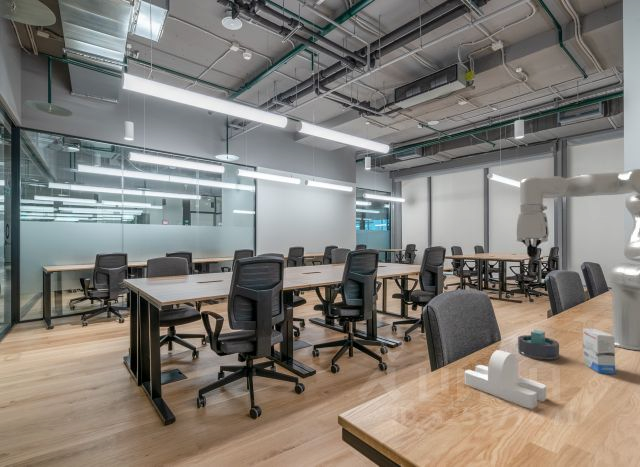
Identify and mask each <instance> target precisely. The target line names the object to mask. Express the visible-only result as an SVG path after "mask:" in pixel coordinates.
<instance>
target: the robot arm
mask: <svg viewBox="0 0 640 467" xmlns="http://www.w3.org/2000/svg"><path fill="white" fill-rule="evenodd" d="M519 191H520V195H519V196H520V201H519V202H520V213H518V217H517V221H516V222H517V224H516V241H517V242H519V243H523V245H525V247H526V248H527V249H526V251H527V252H526V253H527V255H528V256H527V257H528V258H536V257H537V255H538V247H539V245H541V243H547V242H549V236H550V234H549V233H550V232H549V230H550V229H549V224H548V223H549V222H548V216H547V213H546V212H544V211H547V210H548V206H547V205H544V199H555V198H573V197H575V198H576V197H579V198H581V197H583V198H584V197H595V196H596V197H597V196H611V195H612V196H613V195H614V196H616V195H626V194H629V195H628V196H627V197H626V199H625V202H624V203H625V207H626V209H627V211H628V213H629V214H630V215H631V217H632V219H633V226H632V231H631V233H630V235H629V237H628V239H627V242H626V244H625V247H624V251H623V255H624V256H625V258H626V259H628V260H629V261H632V262H635V263H628V262H627V263H618V264H616V265H614V266H612V268H611V269H610V270H609V275H608V276H609V277H608V278H609V282H610V288H611V293H612V301H611V302H612V304H611V306H612V310H611V312H612V314H611V315H612V318H611V321H612V326H611V327H612V329H611V331H612V332H611V333H612V334H611V335H612V336H614V346H615V347H617V348H622V349H626V350H633V351H640V264H639V263H640V168H633V169H630V170H625V171H620V172H619V171H618V172H602V173H589V174H582V175H577V176H573V177H567V178H565V177H563V176H559V175H556V176H549V177H548V176H547V177H541V178H540V177H527V178H523V179H522V180H521V181H520V183H519ZM532 239H533V240H532Z"/></svg>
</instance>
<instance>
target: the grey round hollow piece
mask: <svg viewBox="0 0 640 467" xmlns="http://www.w3.org/2000/svg"><path fill="white" fill-rule="evenodd" d="M527 340H531V334H528V335H526V334H524V335H519V336H518V337H517V349H518V354H520V355H521V356H524V357H526V358H530V359H534V360H540V361H549V362H550V361H557V360H558V359H559V356H560V343H559V342H558V340H555V339H553V338H549V337H546V336H545V342H547V343H549V344H536V343H532V342H528V341H527Z"/></svg>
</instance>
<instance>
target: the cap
mask: <svg viewBox="0 0 640 467" xmlns="http://www.w3.org/2000/svg"><path fill="white" fill-rule="evenodd" d="M530 335H531V340H527V341H528V342H532V343H536V344H549V343H547V342H545V337H546V331H542V330H537V329H535V330H533V331H530Z"/></svg>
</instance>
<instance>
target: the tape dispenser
mask: <svg viewBox="0 0 640 467" xmlns="http://www.w3.org/2000/svg"><path fill="white" fill-rule="evenodd" d="M487 365H488V366H487ZM487 365H483V364H478V365H476V366H474V369H475V370H471V369H466V370H465V371H464V385H466V386H468V387H471V388H474V389H476V390H479V391H481V392H484V393H488V395H492V396H494V397H497V398H501V399H503V400H505V401H508V402H511V403H512V404H516V405H518V404H519V406H521V407H524V408H526V409H534V408H536V407H537V406H538V401H540V402H542V403H543V402H545V401H546V400H547V385H545V384H543V383H541V382H538V381H534V380H531V379H528V378H525V377H522V376H519V362H518V358H517V356H516V354H514V353H511V352H508V351H505V350H504V351H503V350H501V349H496V350H495V351H494V352H492V354H491V356H490V359H489V361H488V364H487Z"/></svg>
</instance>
